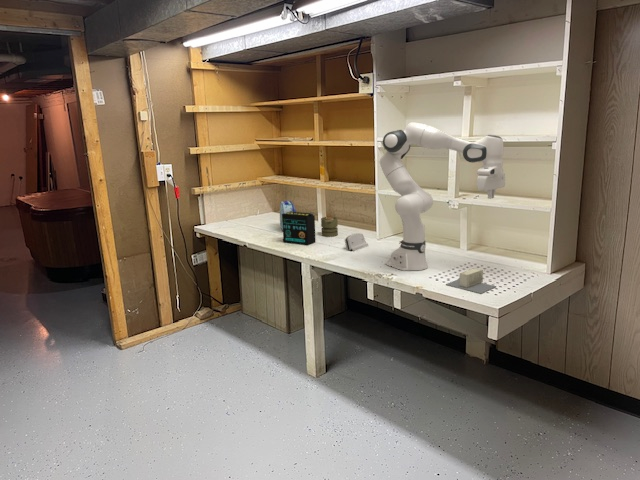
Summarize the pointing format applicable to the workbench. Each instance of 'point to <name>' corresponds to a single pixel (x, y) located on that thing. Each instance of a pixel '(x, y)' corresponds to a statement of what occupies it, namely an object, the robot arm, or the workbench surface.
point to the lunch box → (285, 209)
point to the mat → (473, 287)
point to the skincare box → (471, 277)
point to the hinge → (355, 242)
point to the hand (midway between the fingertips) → (490, 198)
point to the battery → (298, 228)
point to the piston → (329, 227)
